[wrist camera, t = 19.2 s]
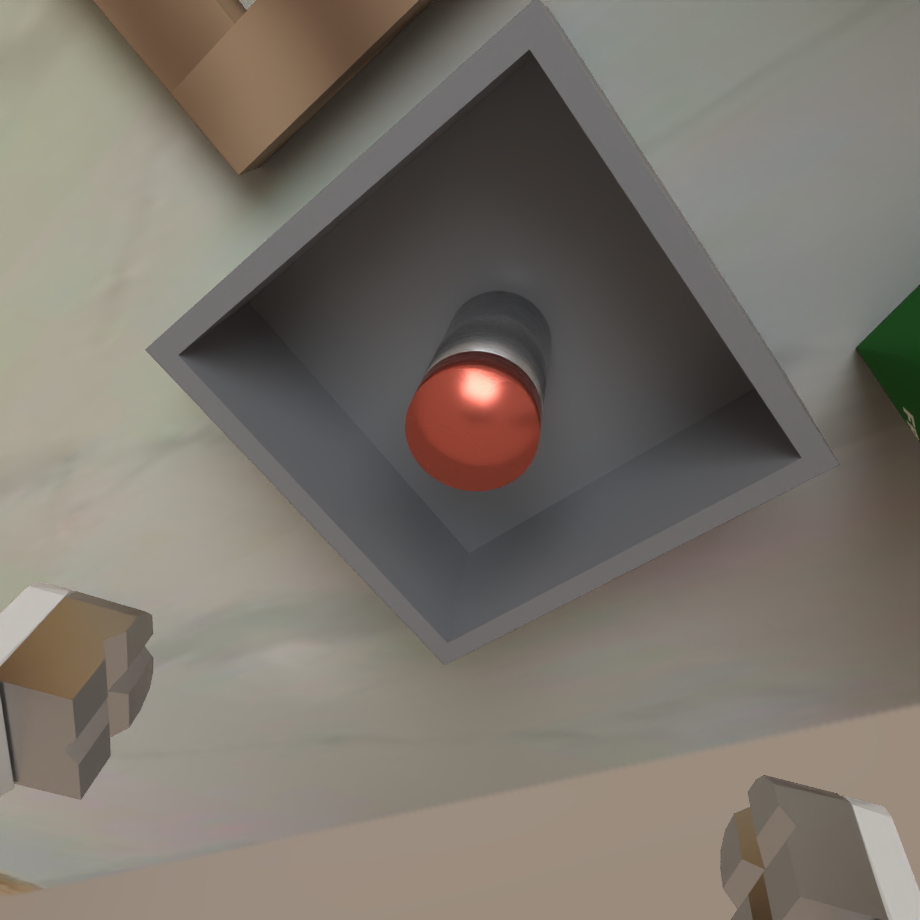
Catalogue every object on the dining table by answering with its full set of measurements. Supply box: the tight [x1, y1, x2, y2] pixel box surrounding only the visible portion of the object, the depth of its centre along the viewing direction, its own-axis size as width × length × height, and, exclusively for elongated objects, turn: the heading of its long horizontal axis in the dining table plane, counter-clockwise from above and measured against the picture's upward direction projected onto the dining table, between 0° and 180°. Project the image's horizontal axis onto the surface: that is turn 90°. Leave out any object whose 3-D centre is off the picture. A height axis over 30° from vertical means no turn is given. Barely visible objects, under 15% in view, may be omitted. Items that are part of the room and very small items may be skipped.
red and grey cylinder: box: [405, 291, 551, 491], centre depth 26 cm, size 4×4×8 cm
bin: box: [145, 0, 839, 665], centre depth 28 cm, size 16×16×7 cm
